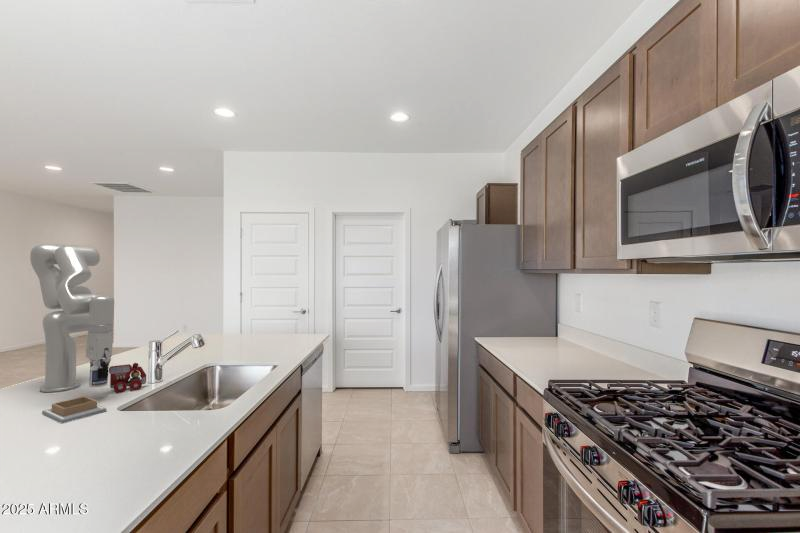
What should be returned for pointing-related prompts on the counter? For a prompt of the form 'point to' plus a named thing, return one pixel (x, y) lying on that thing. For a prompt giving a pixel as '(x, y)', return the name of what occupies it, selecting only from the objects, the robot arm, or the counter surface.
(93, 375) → the pill bottle
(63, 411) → the bay
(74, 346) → the robot arm
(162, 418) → the counter surface
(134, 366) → the toy fire truck
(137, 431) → the counter surface
